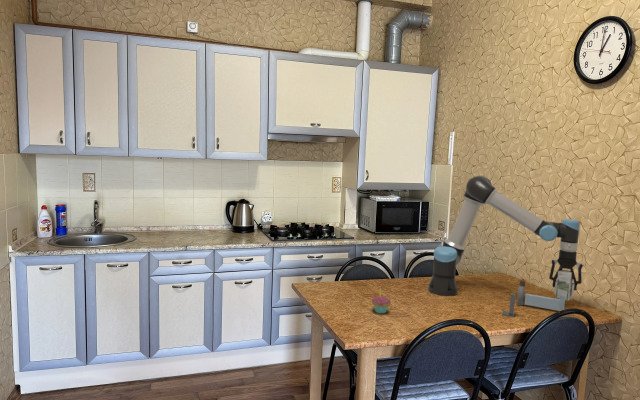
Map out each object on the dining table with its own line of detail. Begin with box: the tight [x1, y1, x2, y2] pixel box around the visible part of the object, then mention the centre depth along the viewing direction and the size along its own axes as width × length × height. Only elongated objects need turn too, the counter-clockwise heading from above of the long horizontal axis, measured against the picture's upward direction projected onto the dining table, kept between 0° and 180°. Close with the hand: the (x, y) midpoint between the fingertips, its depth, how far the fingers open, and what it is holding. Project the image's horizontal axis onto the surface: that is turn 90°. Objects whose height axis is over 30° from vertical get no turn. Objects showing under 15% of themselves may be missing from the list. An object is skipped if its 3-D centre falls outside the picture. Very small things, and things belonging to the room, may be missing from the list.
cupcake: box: [371, 287, 391, 314], centre depth 195 cm, size 9×8×12 cm
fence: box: [519, 279, 526, 288], centre depth 222 cm, size 3×13×9 cm, turn 153°
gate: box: [516, 285, 566, 312], centre depth 210 cm, size 20×3×9 cm, turn 63°
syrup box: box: [555, 268, 574, 302], centre depth 216 cm, size 6×6×14 cm
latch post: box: [501, 292, 516, 318], centre depth 199 cm, size 5×5×10 cm
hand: (563, 294), depth 216 cm, fingers closed on syrup box, 7 cm apart
